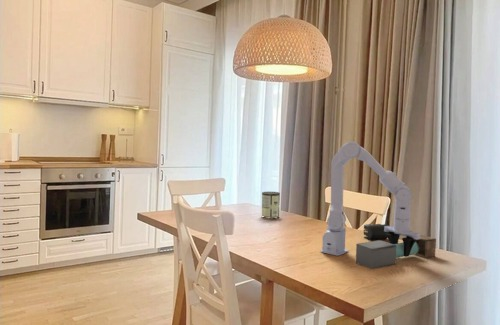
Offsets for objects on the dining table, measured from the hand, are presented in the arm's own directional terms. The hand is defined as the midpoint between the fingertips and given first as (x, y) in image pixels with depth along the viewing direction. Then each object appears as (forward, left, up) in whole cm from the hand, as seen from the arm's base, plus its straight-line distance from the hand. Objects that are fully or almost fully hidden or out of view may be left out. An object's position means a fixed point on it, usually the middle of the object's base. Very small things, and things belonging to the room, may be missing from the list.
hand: (400, 254), depth 145 cm
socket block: (+12, -4, -2) cm, 13 cm away
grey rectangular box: (-12, +5, -2) cm, 13 cm away
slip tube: (-4, +1, -1) cm, 4 cm away
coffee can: (+30, +84, -2) cm, 89 cm away
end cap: (+24, +19, -2) cm, 30 cm away
